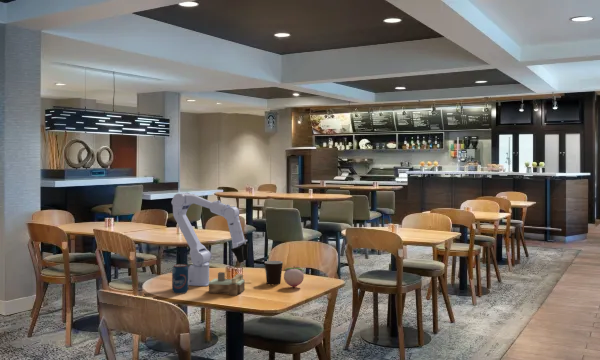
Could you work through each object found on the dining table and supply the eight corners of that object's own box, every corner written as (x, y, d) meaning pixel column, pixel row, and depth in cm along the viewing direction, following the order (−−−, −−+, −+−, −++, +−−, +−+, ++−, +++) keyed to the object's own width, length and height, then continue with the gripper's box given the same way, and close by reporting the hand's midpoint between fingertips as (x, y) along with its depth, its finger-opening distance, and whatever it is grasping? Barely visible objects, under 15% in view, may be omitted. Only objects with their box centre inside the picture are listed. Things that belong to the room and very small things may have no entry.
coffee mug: (280, 285, 267) (280, 264, 267) (262, 284, 269) (262, 263, 268) (286, 280, 278) (286, 260, 278) (268, 279, 280) (268, 259, 280)
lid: (208, 285, 251) (208, 274, 251) (214, 281, 259) (214, 270, 259) (239, 286, 249) (239, 275, 249) (244, 282, 257) (244, 271, 257)
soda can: (172, 294, 249) (171, 266, 249) (172, 290, 256) (172, 263, 256) (188, 293, 251) (188, 266, 250) (188, 290, 258) (188, 263, 257)
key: (230, 283, 249) (230, 278, 249) (236, 278, 259) (236, 274, 259) (236, 283, 248) (236, 279, 248) (242, 278, 259) (242, 274, 258)
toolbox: (207, 294, 249) (207, 283, 249) (215, 288, 262) (215, 277, 262) (238, 295, 247) (238, 285, 247) (245, 289, 260) (245, 278, 260)
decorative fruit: (285, 289, 258) (285, 267, 258) (282, 286, 266) (282, 264, 266) (305, 289, 260) (305, 267, 259) (302, 285, 268) (302, 263, 267)
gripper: (240, 231, 256) (247, 261, 256) (248, 229, 271) (255, 257, 270) (225, 235, 257) (233, 265, 257) (234, 232, 272) (241, 260, 271)
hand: (243, 261), depth 264 cm, fingers open, 7 cm apart
